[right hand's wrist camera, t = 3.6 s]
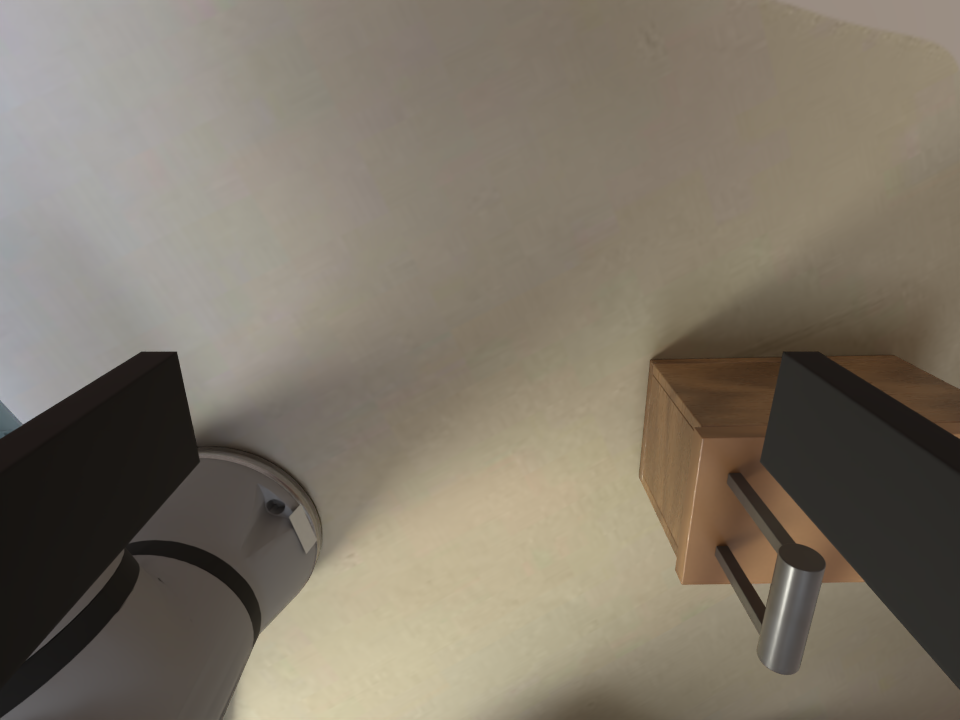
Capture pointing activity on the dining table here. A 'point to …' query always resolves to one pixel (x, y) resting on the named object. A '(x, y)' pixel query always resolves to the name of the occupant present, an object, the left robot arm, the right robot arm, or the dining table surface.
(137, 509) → the right robot arm
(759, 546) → the lid
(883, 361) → the chest
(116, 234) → the dining table surface
